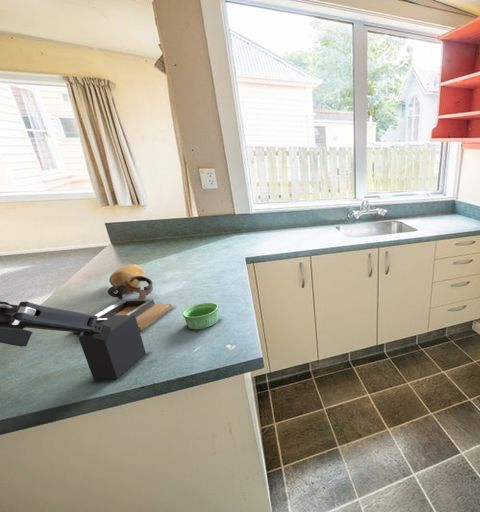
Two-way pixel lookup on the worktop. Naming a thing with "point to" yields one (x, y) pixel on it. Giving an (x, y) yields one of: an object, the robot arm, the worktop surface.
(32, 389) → the worktop surface
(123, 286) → the pottery mug
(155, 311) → the wooden base board
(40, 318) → the robot arm
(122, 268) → the tan rounded piece
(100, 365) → the dark gray block
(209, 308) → the ramekin
